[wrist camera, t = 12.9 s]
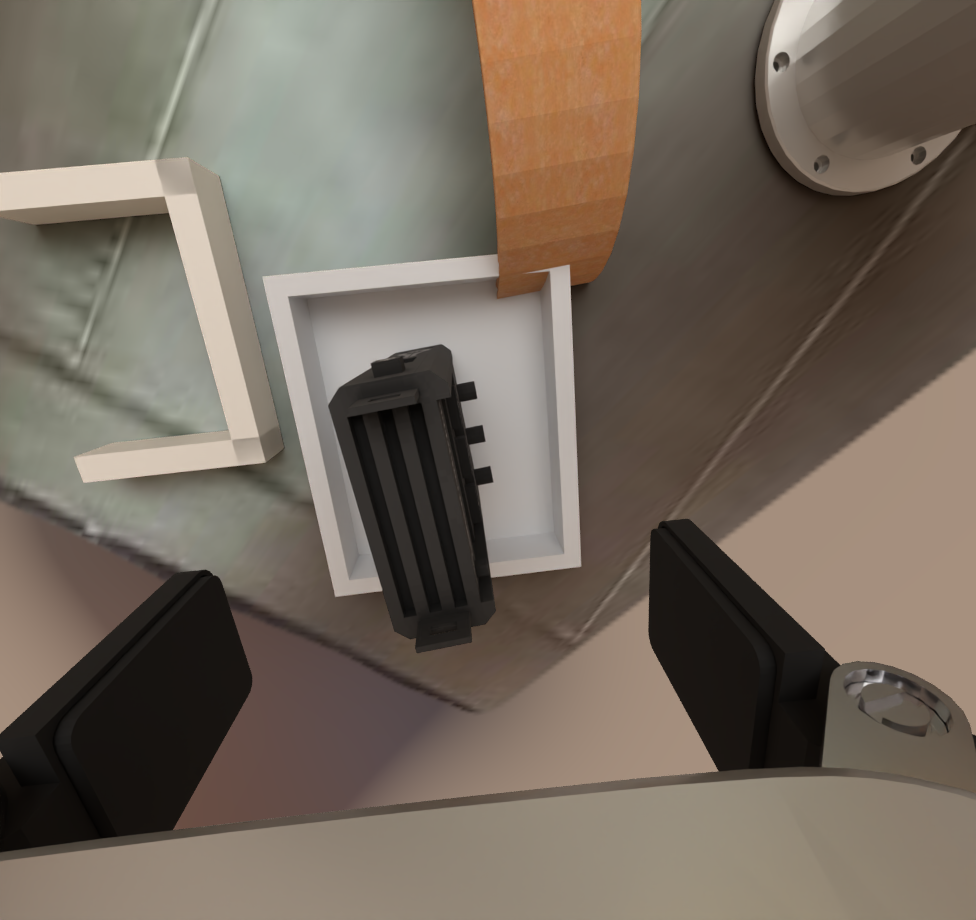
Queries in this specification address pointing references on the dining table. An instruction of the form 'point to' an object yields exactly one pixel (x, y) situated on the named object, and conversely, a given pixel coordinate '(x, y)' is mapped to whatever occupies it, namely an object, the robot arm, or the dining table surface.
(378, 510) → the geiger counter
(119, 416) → the dining table surface
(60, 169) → the cream piece
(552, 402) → the parts tray
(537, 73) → the arch
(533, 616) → the dining table surface
